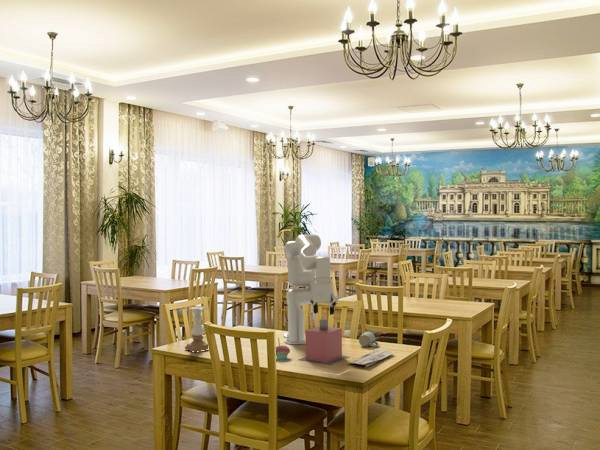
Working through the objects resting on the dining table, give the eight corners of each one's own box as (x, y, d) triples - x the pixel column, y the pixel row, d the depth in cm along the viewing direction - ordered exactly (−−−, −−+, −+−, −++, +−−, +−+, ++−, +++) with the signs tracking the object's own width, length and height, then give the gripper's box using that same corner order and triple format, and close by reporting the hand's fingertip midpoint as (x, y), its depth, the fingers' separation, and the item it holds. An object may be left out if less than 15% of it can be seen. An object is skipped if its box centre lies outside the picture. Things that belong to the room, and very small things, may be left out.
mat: (297, 361, 302) (297, 359, 302) (318, 353, 318) (318, 352, 318) (330, 366, 290) (330, 364, 290) (350, 358, 307) (350, 356, 307)
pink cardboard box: (305, 359, 302) (305, 320, 302) (320, 354, 314) (320, 316, 314) (327, 362, 295) (327, 323, 294) (342, 357, 306) (341, 318, 306)
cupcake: (277, 362, 300) (277, 338, 300) (270, 358, 308) (270, 335, 308) (292, 360, 304) (292, 336, 304) (285, 356, 312) (285, 334, 312)
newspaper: (374, 353, 319) (374, 346, 319) (395, 355, 313) (395, 349, 313) (346, 367, 289) (346, 360, 289) (369, 370, 283) (369, 363, 283)
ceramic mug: (357, 346, 334) (358, 333, 334) (362, 343, 341) (363, 330, 341) (375, 348, 329) (375, 335, 329) (380, 345, 336) (380, 332, 336)
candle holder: (194, 353, 322) (194, 309, 322) (184, 349, 330) (183, 307, 330) (211, 350, 329) (211, 307, 329) (201, 347, 338) (200, 305, 337)
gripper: (305, 280, 305) (305, 313, 305) (333, 281, 296) (334, 315, 296) (313, 279, 312) (313, 311, 312) (341, 280, 302) (342, 314, 302)
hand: (323, 313), depth 304 cm, fingers open, 9 cm apart
